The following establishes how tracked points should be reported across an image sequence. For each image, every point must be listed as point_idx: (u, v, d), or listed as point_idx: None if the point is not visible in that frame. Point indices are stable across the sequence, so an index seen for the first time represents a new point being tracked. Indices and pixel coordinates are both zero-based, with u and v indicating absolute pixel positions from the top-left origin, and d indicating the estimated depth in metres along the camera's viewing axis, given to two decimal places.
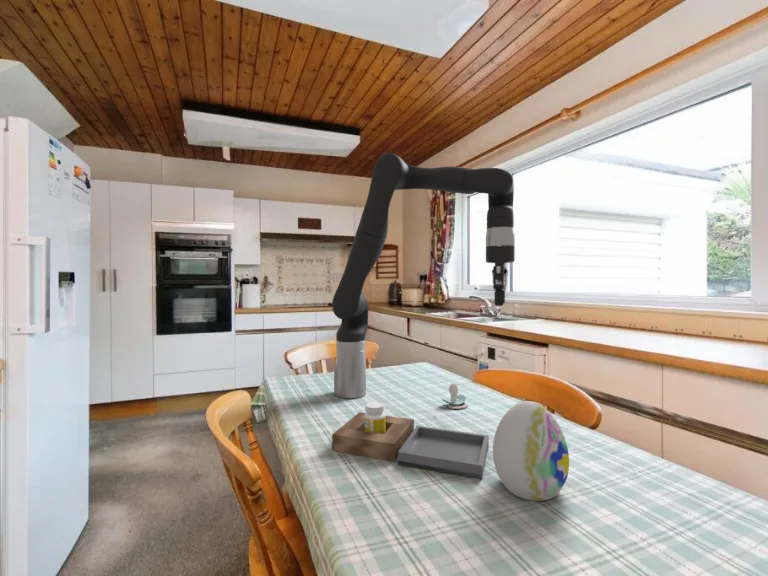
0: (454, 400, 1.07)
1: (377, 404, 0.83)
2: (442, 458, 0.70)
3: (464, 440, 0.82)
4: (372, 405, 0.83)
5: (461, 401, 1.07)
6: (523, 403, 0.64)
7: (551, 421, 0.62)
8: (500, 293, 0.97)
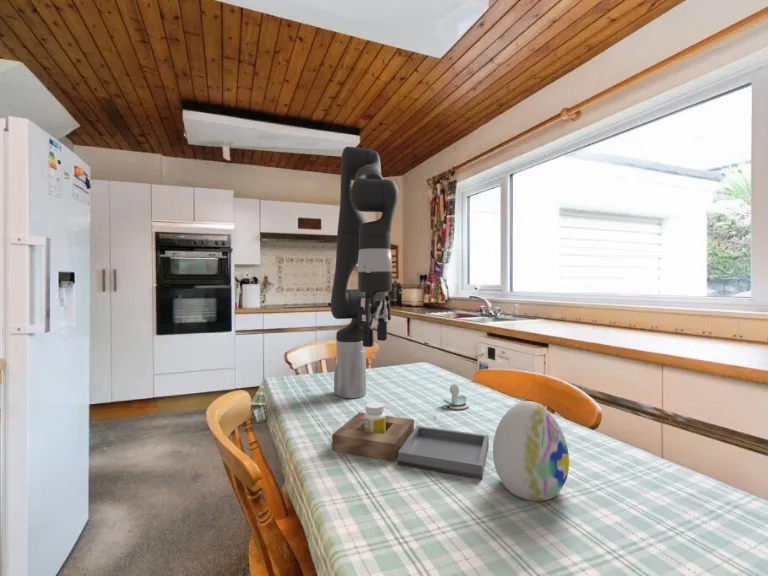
0: (455, 400, 1.07)
1: (377, 404, 0.83)
2: (442, 458, 0.70)
3: (464, 440, 0.82)
4: (372, 405, 0.83)
5: (462, 401, 1.07)
6: (523, 403, 0.64)
7: (551, 421, 0.62)
8: (368, 332, 0.78)
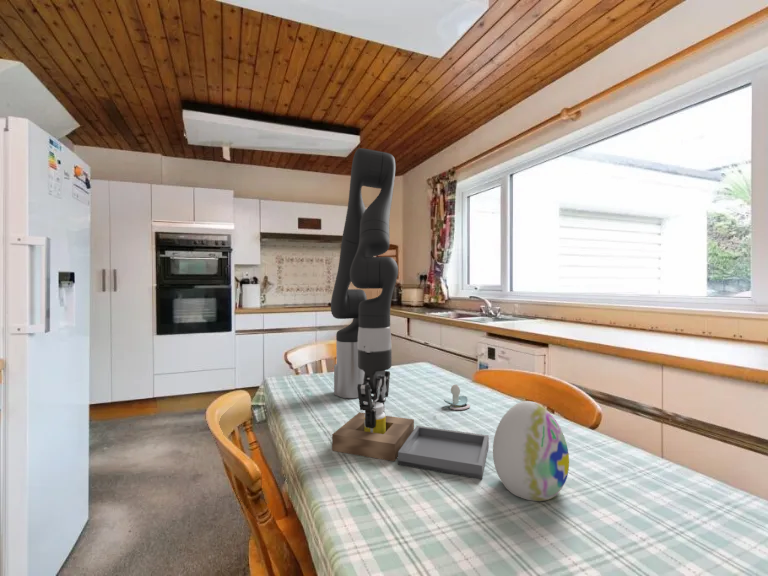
0: (456, 401, 1.06)
1: (377, 404, 0.83)
2: (442, 458, 0.70)
3: (464, 440, 0.82)
4: None
5: (463, 402, 1.06)
6: (523, 403, 0.64)
7: (551, 421, 0.62)
8: (370, 414, 0.80)
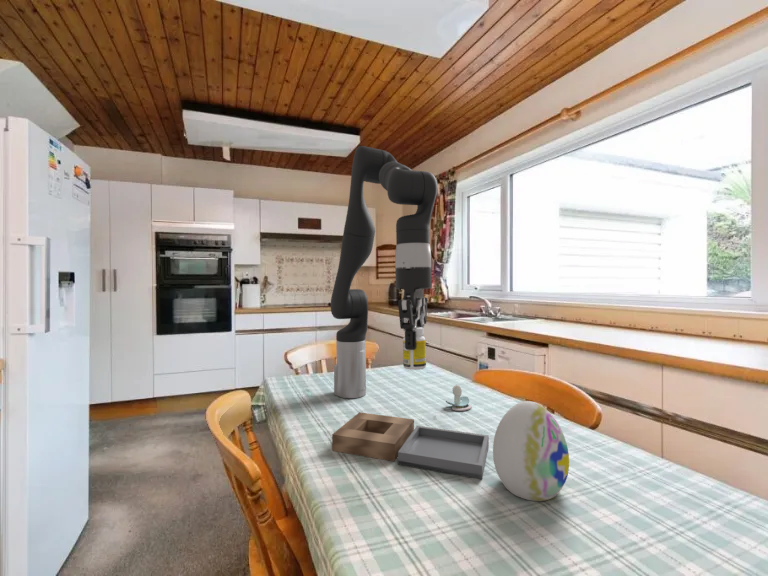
0: (458, 402, 1.06)
1: (417, 327, 0.79)
2: (442, 458, 0.70)
3: (464, 440, 0.82)
4: None
5: (465, 403, 1.06)
6: (523, 403, 0.64)
7: (551, 421, 0.62)
8: (411, 334, 0.75)
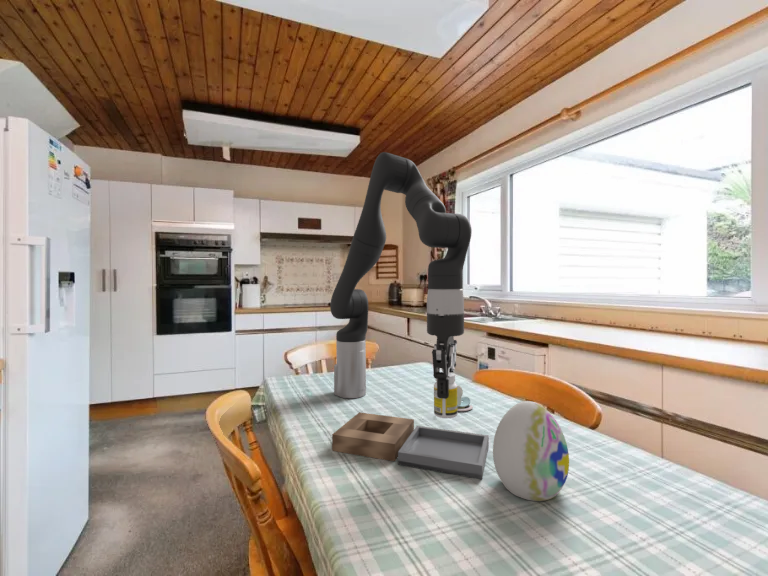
0: (459, 402, 1.05)
1: None
2: (442, 458, 0.70)
3: (464, 440, 0.82)
4: None
5: (466, 403, 1.05)
6: (523, 403, 0.64)
7: (551, 421, 0.62)
8: (444, 383, 0.73)
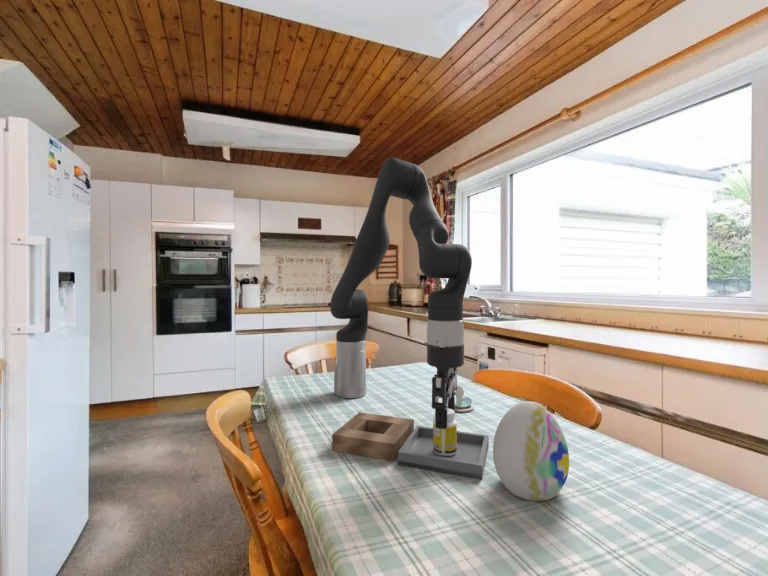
0: (460, 403, 1.05)
1: (447, 410, 0.77)
2: (442, 458, 0.70)
3: (464, 440, 0.82)
4: None
5: (467, 404, 1.05)
6: (523, 403, 0.64)
7: (551, 421, 0.62)
8: (442, 413, 0.72)
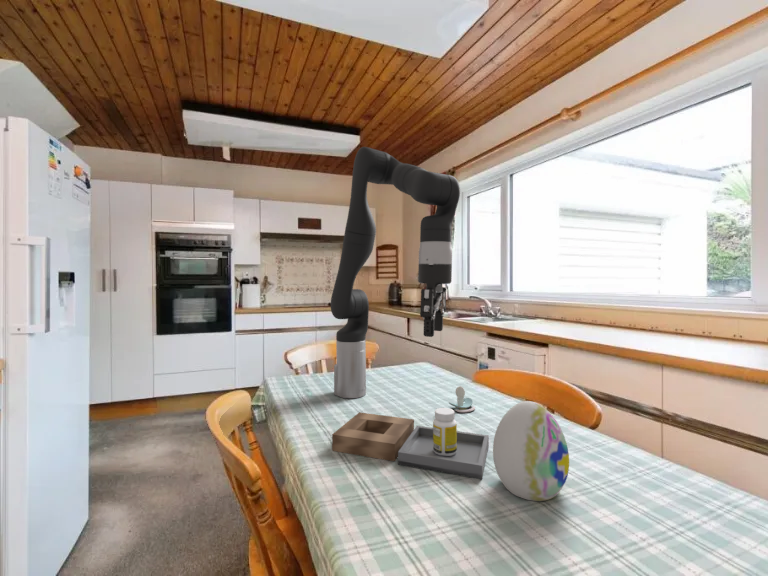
0: (461, 403, 1.05)
1: (447, 410, 0.77)
2: (442, 458, 0.70)
3: (464, 440, 0.82)
4: (442, 411, 0.77)
5: (468, 404, 1.05)
6: (523, 403, 0.64)
7: (551, 421, 0.62)
8: (429, 322, 0.80)
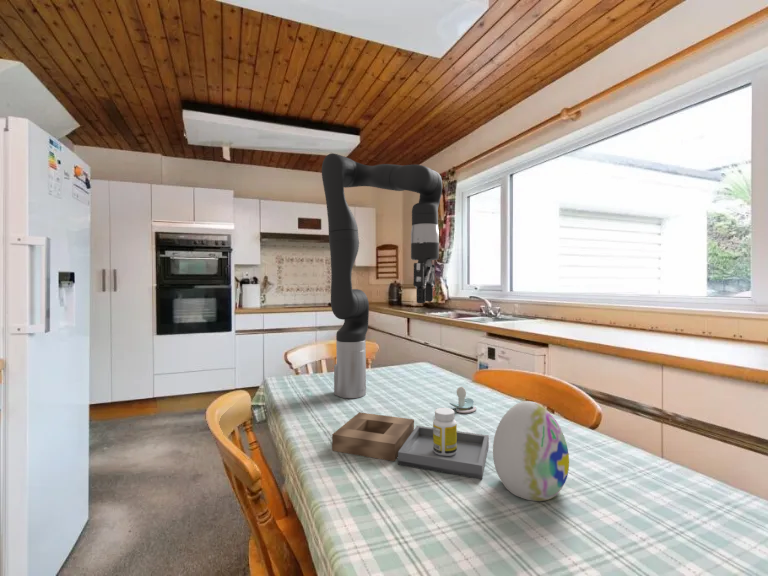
0: (462, 404, 1.04)
1: (447, 410, 0.77)
2: (442, 458, 0.70)
3: (464, 440, 0.82)
4: (442, 411, 0.77)
5: (469, 405, 1.04)
6: (523, 403, 0.64)
7: (551, 421, 0.62)
8: (421, 290, 0.96)
